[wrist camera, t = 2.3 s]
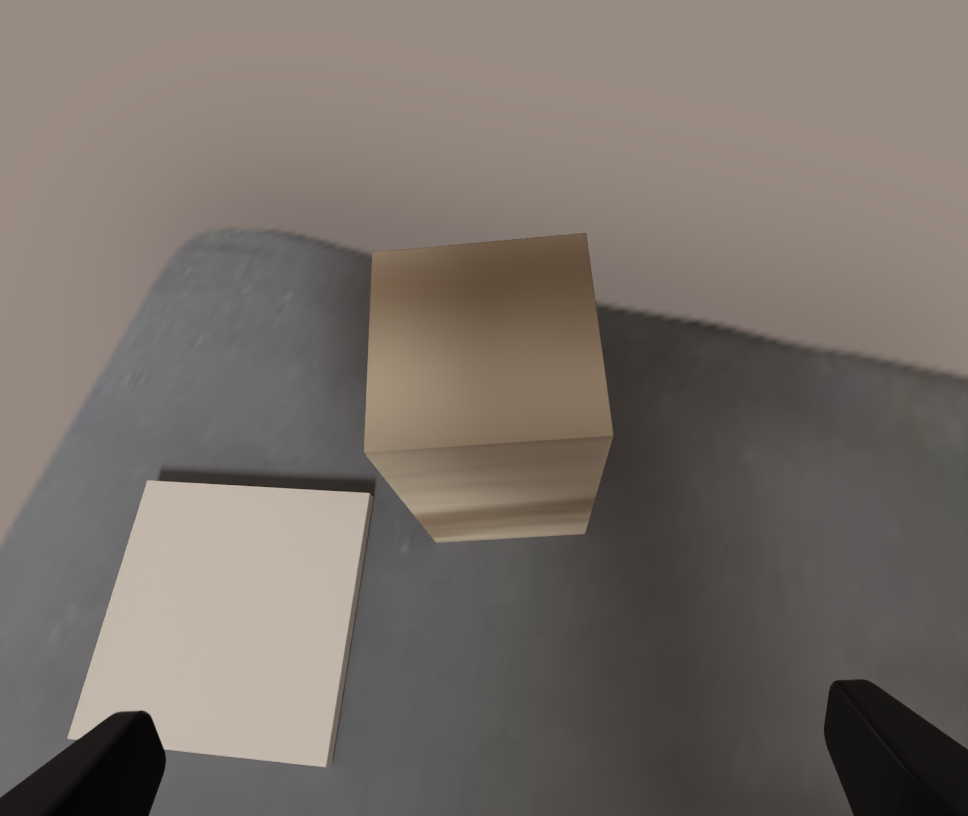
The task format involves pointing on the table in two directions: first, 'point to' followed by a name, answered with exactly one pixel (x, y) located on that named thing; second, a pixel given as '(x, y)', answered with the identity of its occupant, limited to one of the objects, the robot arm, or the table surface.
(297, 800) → the table surface
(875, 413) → the table surface
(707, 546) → the table surface
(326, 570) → the cream tile
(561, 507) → the brass block
